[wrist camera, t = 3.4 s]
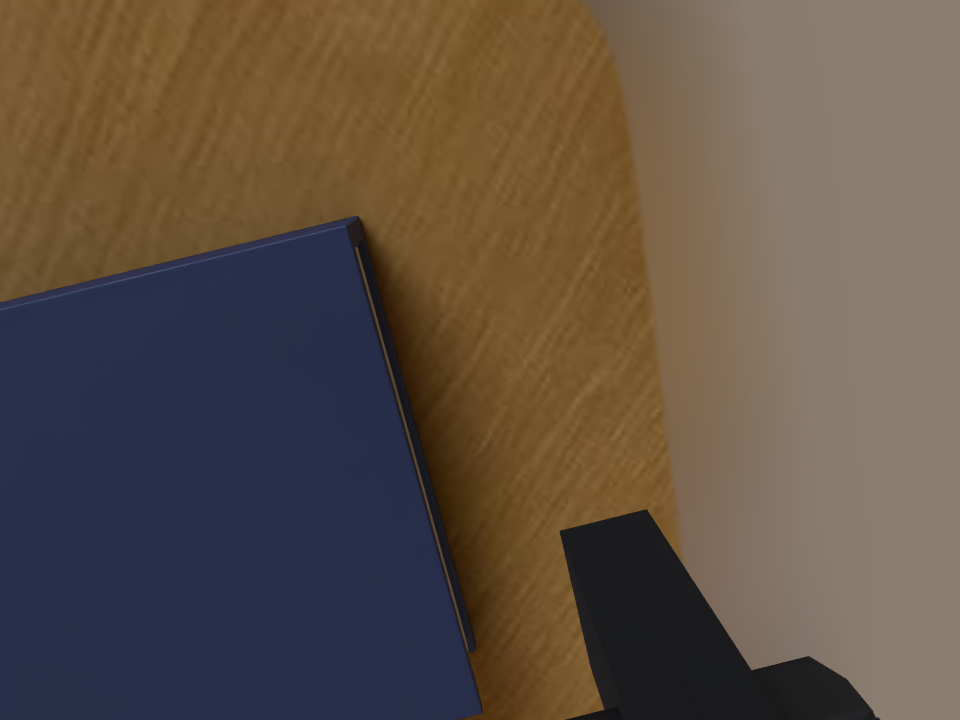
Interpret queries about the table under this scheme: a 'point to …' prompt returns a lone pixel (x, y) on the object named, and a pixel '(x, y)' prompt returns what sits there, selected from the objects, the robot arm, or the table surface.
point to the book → (222, 498)
